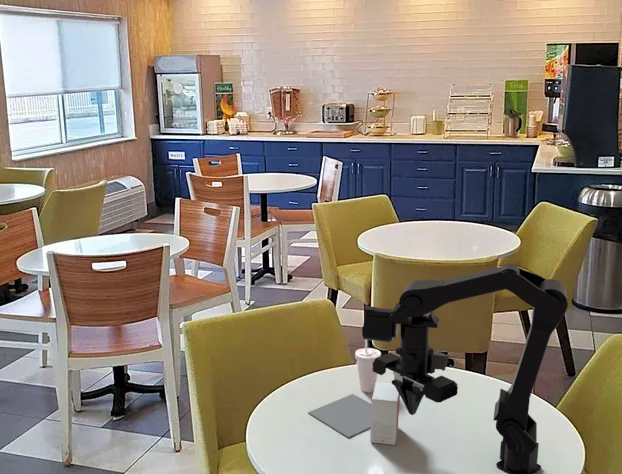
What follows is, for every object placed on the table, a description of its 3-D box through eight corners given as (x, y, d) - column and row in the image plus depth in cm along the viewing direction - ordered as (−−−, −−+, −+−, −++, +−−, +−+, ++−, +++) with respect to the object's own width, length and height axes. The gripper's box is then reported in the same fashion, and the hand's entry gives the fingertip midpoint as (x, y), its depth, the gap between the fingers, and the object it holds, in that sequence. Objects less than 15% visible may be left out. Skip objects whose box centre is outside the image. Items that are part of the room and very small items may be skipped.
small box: (395, 446, 147) (398, 401, 144) (369, 442, 148) (371, 398, 145) (398, 426, 155) (401, 383, 152) (373, 423, 156) (375, 380, 153)
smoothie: (351, 385, 174) (351, 333, 171) (374, 381, 176) (375, 330, 173) (360, 396, 168) (360, 343, 165) (384, 392, 170) (385, 339, 167)
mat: (393, 417, 159) (393, 416, 159) (348, 438, 150) (348, 437, 150) (352, 394, 169) (352, 393, 169) (308, 413, 161) (308, 412, 161)
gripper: (477, 348, 137) (473, 418, 141) (408, 321, 151) (406, 386, 155) (439, 363, 130) (436, 437, 134) (371, 334, 144) (370, 401, 149)
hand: (412, 413), depth 143 cm, fingers closed
